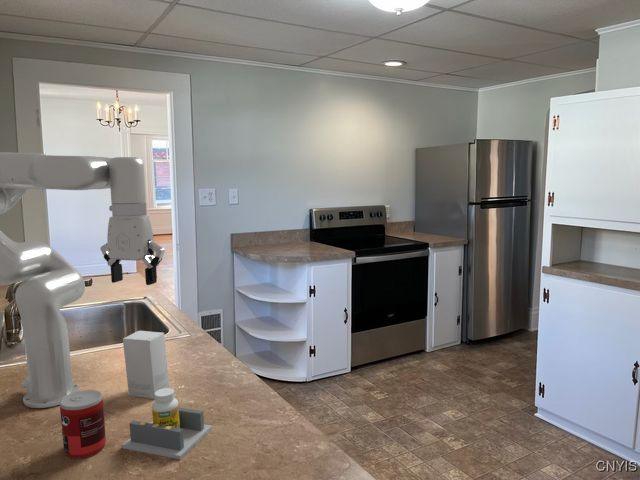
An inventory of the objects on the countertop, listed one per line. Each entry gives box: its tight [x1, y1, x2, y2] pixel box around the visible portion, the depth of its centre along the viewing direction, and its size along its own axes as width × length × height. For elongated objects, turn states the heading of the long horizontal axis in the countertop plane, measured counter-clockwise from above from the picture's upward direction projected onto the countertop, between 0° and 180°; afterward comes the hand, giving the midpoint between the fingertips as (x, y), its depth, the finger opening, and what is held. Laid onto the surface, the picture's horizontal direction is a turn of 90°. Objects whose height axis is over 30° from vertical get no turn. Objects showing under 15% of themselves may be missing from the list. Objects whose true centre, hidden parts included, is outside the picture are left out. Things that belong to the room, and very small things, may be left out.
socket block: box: [121, 406, 213, 461], centre depth 103 cm, size 14×12×5 cm
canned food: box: [59, 389, 107, 459], centre depth 99 cm, size 8×8×11 cm
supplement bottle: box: [151, 387, 180, 429], centre depth 103 cm, size 5×5×10 cm
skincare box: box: [122, 330, 170, 400], centre depth 124 cm, size 8×7×16 cm
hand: (134, 282), depth 115 cm, fingers open, 9 cm apart
